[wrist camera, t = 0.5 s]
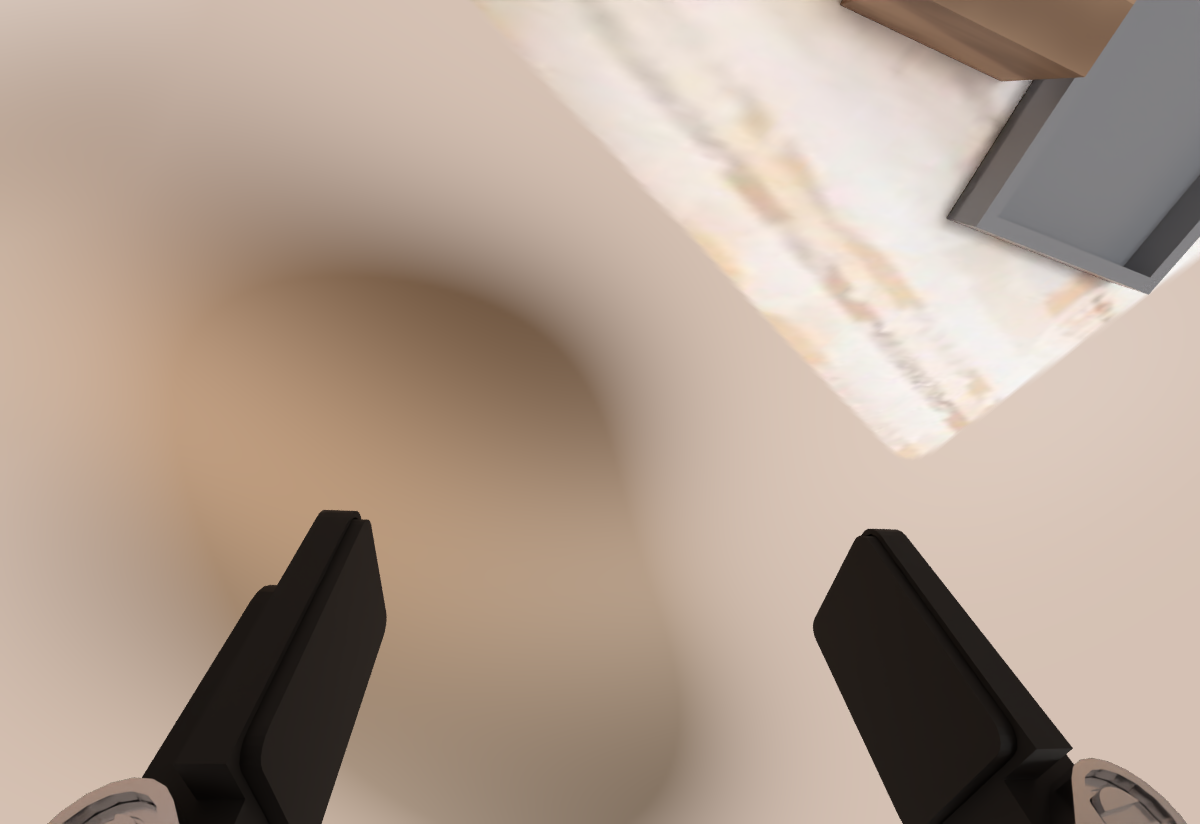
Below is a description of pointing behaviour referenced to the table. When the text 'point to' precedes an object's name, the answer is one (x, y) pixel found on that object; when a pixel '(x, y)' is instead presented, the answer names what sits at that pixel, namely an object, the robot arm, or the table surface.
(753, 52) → the table surface
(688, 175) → the table surface
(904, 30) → the block
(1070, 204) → the tray
